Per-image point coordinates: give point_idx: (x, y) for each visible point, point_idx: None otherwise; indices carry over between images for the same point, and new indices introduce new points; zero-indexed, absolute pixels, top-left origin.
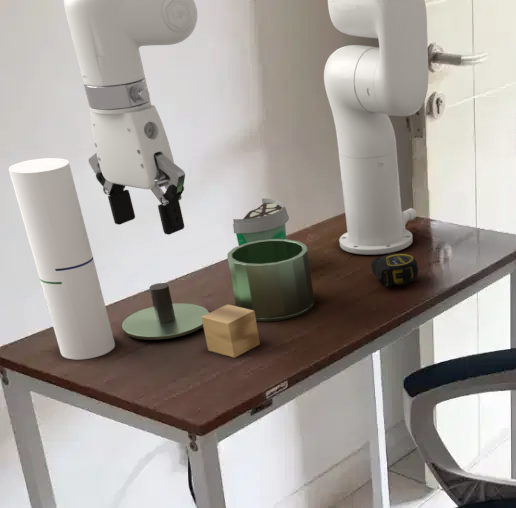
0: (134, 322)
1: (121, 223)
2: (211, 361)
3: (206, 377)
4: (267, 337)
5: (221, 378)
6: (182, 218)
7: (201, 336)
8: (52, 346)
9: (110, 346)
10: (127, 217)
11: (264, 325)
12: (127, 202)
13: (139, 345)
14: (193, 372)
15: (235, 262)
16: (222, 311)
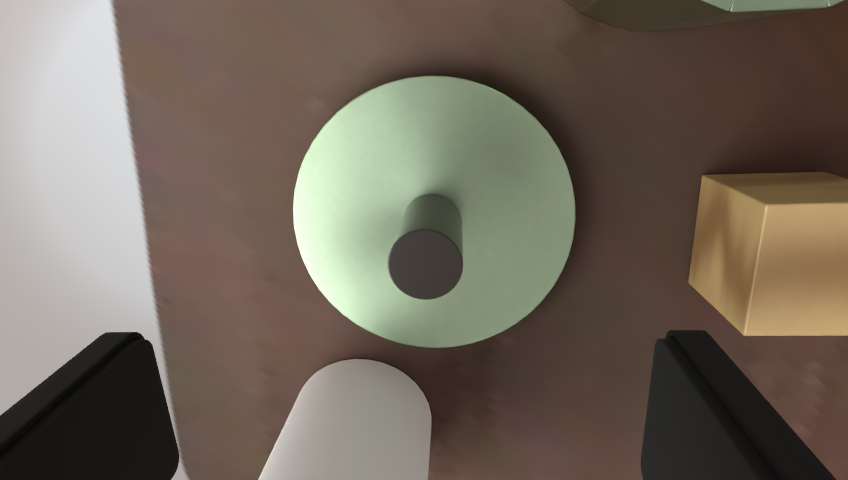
0: (362, 288)
1: (176, 445)
2: None
3: (798, 397)
4: (814, 114)
5: (844, 385)
6: (734, 368)
7: (591, 217)
8: (269, 446)
9: (425, 405)
10: (148, 409)
11: (740, 38)
12: (67, 464)
13: (468, 345)
14: None
15: (739, 6)
16: (793, 267)
